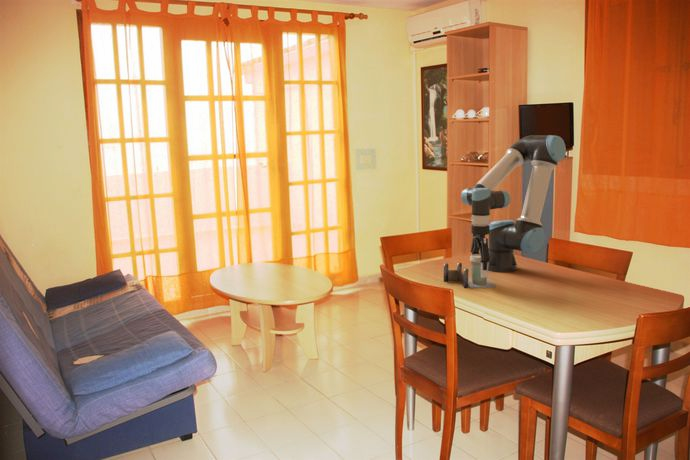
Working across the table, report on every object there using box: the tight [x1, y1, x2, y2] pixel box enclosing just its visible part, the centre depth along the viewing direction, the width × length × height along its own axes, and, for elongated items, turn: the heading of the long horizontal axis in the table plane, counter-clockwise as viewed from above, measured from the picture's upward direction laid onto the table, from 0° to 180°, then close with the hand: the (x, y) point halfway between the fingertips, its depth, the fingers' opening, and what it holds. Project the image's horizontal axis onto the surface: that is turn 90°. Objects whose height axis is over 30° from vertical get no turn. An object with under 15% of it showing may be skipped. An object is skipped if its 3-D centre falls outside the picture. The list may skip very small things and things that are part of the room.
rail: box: [443, 262, 469, 289], centre depth 257 cm, size 8×13×8 cm, turn 3°
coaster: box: [468, 278, 497, 289], centre depth 257 cm, size 11×11×1 cm
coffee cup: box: [469, 253, 489, 285], centre depth 256 cm, size 8×9×12 cm
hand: (479, 273), depth 256 cm, fingers open, 13 cm apart
